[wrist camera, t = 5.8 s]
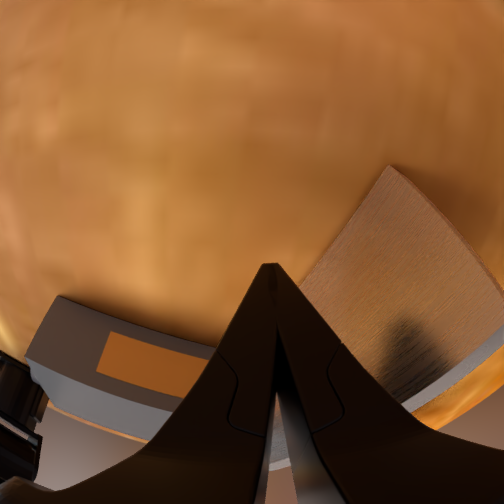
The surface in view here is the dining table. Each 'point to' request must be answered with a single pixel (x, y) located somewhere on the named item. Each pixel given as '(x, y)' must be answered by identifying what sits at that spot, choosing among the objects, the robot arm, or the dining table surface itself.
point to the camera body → (112, 368)
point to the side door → (404, 298)
